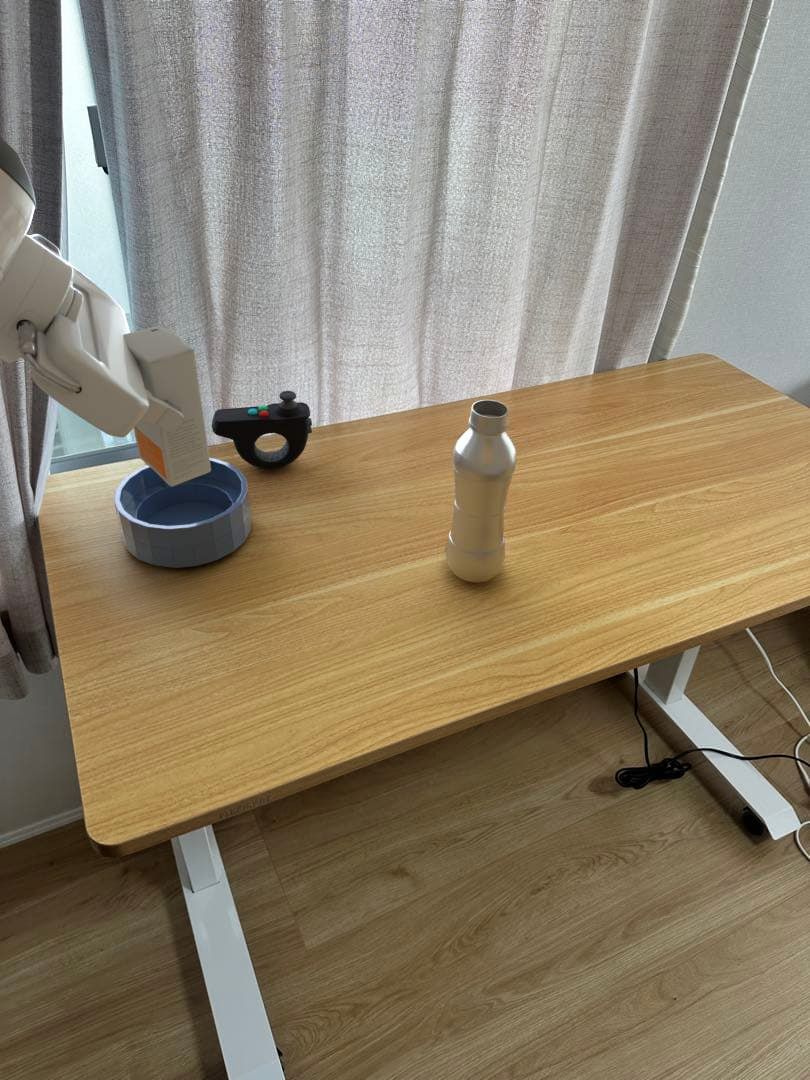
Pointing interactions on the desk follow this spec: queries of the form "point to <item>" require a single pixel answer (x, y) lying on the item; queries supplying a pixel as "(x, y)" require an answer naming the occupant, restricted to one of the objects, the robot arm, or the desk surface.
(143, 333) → the cosmetic box
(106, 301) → the robot arm
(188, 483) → the bowl
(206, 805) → the desk surface
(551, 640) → the desk surface
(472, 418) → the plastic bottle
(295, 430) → the controller
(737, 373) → the desk surface
